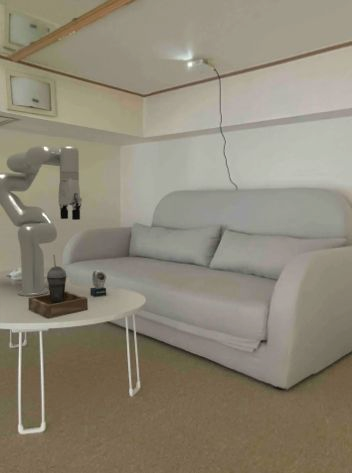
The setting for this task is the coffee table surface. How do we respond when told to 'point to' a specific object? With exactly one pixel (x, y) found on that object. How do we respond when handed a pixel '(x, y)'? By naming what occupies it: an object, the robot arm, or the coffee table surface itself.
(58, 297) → the beverage cup
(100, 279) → the watch
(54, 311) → the walnut tray
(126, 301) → the coffee table surface
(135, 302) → the coffee table surface
